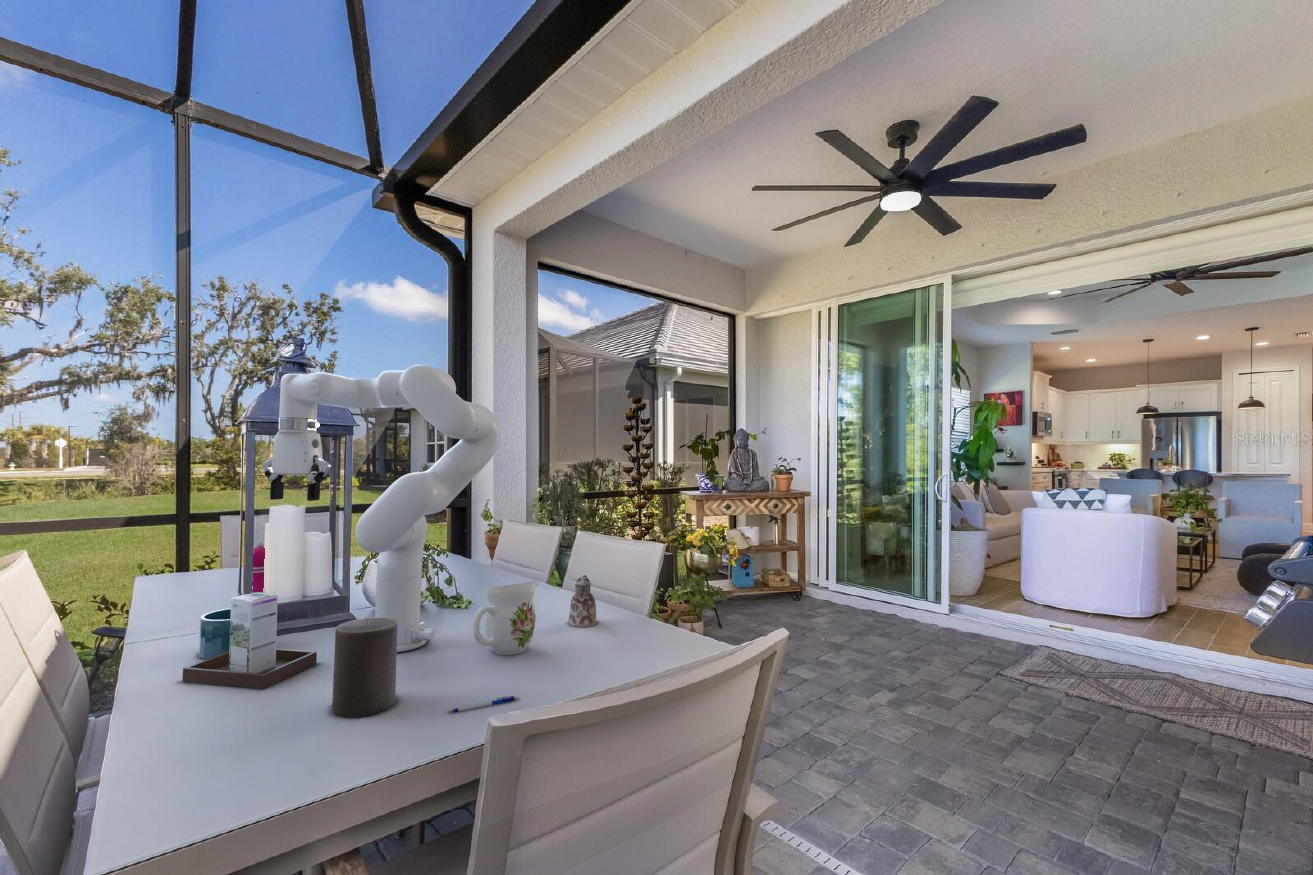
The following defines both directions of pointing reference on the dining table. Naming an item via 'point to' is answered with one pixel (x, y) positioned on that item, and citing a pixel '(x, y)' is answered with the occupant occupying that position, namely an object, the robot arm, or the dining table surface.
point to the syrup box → (253, 632)
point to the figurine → (582, 605)
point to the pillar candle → (364, 666)
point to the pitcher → (508, 618)
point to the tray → (219, 673)
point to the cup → (214, 633)
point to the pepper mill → (258, 567)
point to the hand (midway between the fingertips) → (294, 499)
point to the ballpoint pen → (485, 704)
